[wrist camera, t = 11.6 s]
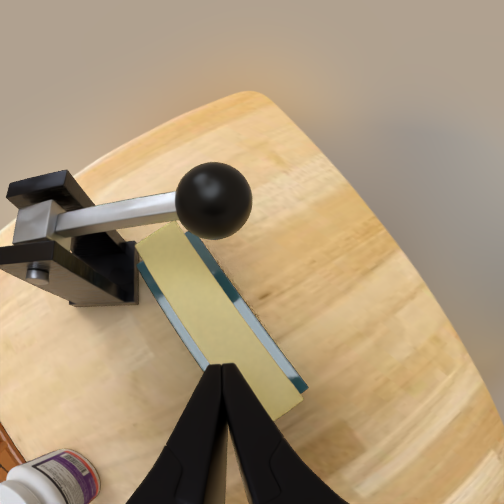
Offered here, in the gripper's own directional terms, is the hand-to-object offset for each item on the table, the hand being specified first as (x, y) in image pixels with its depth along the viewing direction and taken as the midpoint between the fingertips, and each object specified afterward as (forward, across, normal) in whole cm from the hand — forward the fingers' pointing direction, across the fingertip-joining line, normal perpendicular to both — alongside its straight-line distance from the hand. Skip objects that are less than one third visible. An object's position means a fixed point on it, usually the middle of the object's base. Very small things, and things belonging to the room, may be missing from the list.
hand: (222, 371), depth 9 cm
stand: (+15, +10, +4) cm, 18 cm away
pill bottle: (+2, +15, +17) cm, 23 cm away
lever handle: (+9, +5, -2) cm, 10 cm away
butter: (+10, +1, +6) cm, 12 cm away
